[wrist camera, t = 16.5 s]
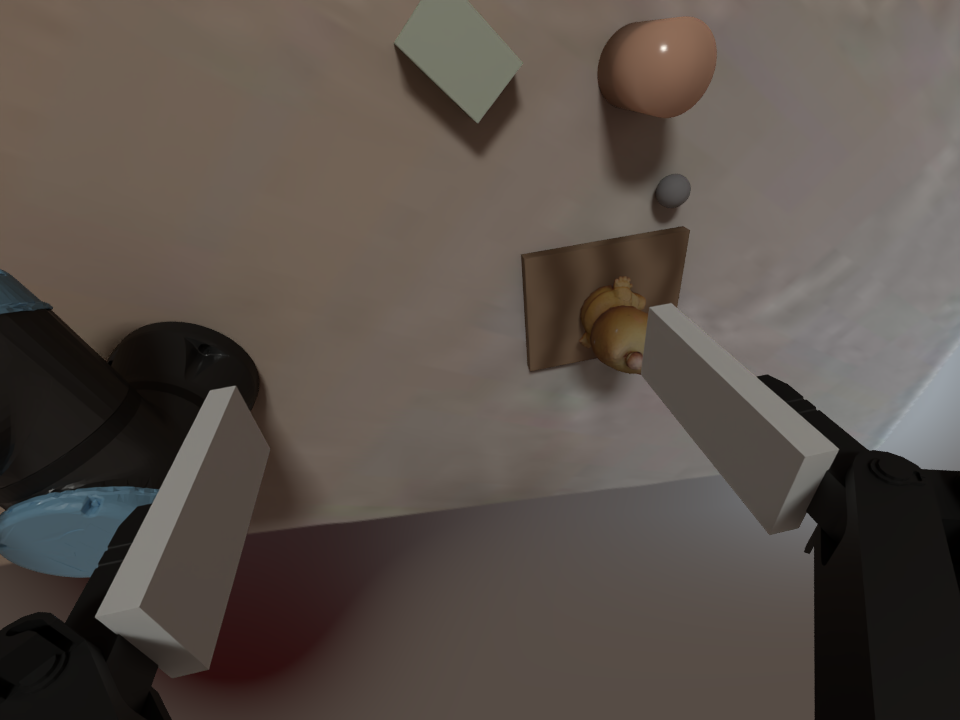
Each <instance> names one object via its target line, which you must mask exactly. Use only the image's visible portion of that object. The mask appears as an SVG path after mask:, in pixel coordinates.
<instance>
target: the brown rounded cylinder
mask: <svg viewBox="0 0 960 720" xmlns="http://www.w3.org/2000/svg"><path fill="white" fill-rule="evenodd" d="M716 58H717V50H716V43H715V39H714V36H713V34H712V32H711V30H710V29H709V27H708V26H707V25H706V24H705V23H704V22H703V21H701V20H699V19H697V18H694V17H677V18H668V19H659V20H651V21H642V22H634V23H630V24H628V25H625V26H624V27H622V28H620V29H619V30H618V31H616V32H615V33H614V34H613V35H612V37H611V38H610V39H609V40H608V42H607V43H606V45H605V47H604V49H603V51H602V53H601V56H600V59H599V64H598V72H597V73H598V84H599V88H600V91H601V93H602V95H603V97H604V98H605V99H606V100H607V101H608V102H609V103H610V104H611V105H613V106H615V107H618V108H622V109H626V110H630V111H634V112H639V113H643V114H647V115H651V116H655V117H660V118H671V117H675V116H678V115H681V114H682V113H684V112H686V111H687V110H689V109H690V108H691V107H693V106H694V105H695V104H696V103H697V102H698V101H699V100H700V98H701V97H702V96H703V94H704V93H705V91H706V90H707V88H708V86H709V84H710V82H711V79H712V77H713V74H714V70H715V66H716Z"/></svg>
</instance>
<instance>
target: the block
mask: <svg viewBox="0 0 960 720" xmlns="http://www.w3.org/2000/svg"><path fill="white" fill-rule="evenodd" d="M394 45H396V46H397V47H398V48H399V49H400V50H401V51H402V52H403V53H404V54H405V55H406V56H407V57H408V58H409V59H410V60H411V61H412V62H413V63H414V64H415V65H416V66H417V67H418V68H419V69H420V70H421V71H422V72H424V73H425V74H426V75H427V76H428V77H429V78H430V79H431V80H432V81H433V82H434V83H435V84H436V85H437V86H438V87H439V88H440V89H441V90H442V91H443V92H444V93H445V94H446V95H447V96H448V97H449V98H450V99H452V100H453V101H454V102H455V103H456V104H457V105H458V106H459V107H460V108H461V109H462V110H463V111H464V112H465V113H466V114H467V115H468V116H469V117H470V118H471V119H472V120H474V121H475V122H476V123H479V121H480V120H481V119H482V117H483V116H484V115H485V113H486V112H487V111H488V109H489V108H490V107H491V105H492V104H493V103H494V101H495V100H496V99H497V97H498V96H499V95H500V93H501V92H502V91H503V89H504V88H505V87H506V85H507V84H508V83H509V81H510V80H511V79H512V77H513V76H514V75H515V73H516V72H517V71H518V69H519V68H520V67H521V65H522V64H523V62H522V61H521V60H520V59H519V58H518V57H517V56H516V54H515V53H514V52H513V51H512V50H511V49H510V48H509V47H508V45H507V44H506V43H505V42H504V41H503V40H502V39H501V38H500V36H499V35H498V34H497V33H496V32H495V31H494V30H493V29H492V27H491V26H490V25H489V24H488V23H487V22H486V21H485V20H484V18H483V17H482V16H481V15H480V14H479V13H478V12H477V11H476V9H475V8H474V7H473V6H472V5H471V4H470V3H469V2H468V0H421V1H420V2H419V4H418V6H417V7H416V9H415V10H414V12H413V14H412V15H411V17H410V18H409V20H408V21H407V23H406V25H405V26H404V28H403V29H402V31H401V33H400V34H399V36H398V37H397V39H396V40H395V42H394Z"/></svg>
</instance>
